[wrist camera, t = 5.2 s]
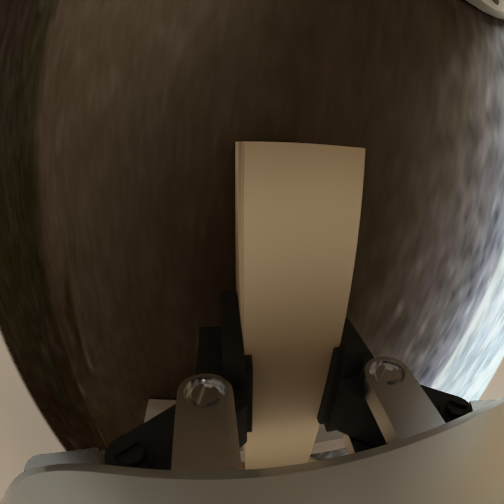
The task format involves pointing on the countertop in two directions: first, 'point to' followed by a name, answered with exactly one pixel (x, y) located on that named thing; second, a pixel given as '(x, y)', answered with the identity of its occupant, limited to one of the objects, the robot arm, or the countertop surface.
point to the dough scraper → (292, 287)
